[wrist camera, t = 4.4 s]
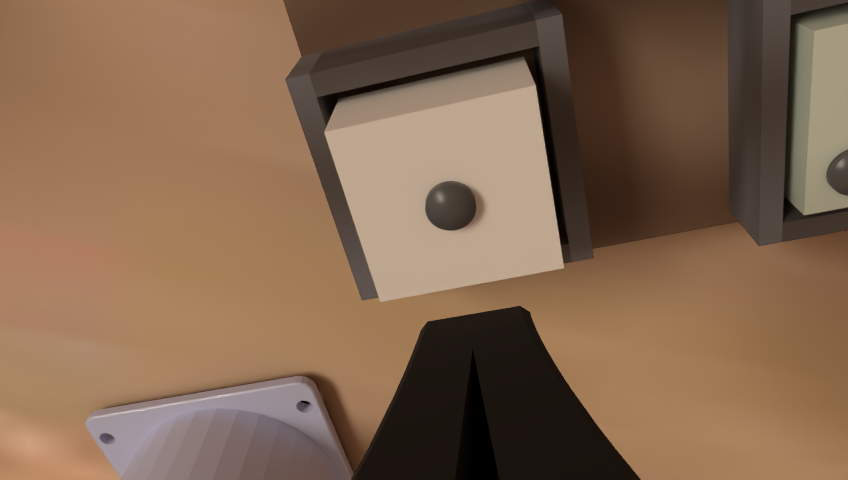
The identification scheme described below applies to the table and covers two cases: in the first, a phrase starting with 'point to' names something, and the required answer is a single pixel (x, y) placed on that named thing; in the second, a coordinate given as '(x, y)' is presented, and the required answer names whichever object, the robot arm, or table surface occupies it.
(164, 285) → the table surface
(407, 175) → the tile one
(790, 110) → the tile three
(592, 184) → the dark brown cabinet frame
